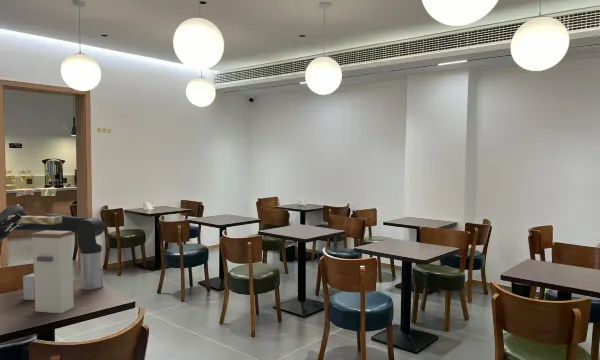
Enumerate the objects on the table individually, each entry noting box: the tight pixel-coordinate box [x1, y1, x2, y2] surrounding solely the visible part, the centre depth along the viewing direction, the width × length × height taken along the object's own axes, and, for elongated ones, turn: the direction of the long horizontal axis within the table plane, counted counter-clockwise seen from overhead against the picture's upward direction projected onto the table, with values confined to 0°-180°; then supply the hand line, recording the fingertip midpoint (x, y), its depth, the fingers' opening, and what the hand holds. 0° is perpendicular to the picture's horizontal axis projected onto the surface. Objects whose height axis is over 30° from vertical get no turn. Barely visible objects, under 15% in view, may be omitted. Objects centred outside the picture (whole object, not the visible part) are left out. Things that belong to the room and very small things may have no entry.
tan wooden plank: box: [8, 215, 62, 225], centre depth 176 cm, size 22×5×2 cm, turn 79°
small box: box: [22, 272, 35, 301], centre depth 192 cm, size 8×6×10 cm
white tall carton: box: [30, 230, 75, 314], centre depth 176 cm, size 13×9×32 cm
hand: (23, 215), depth 177 cm, fingers closed on tan wooden plank, 3 cm apart
